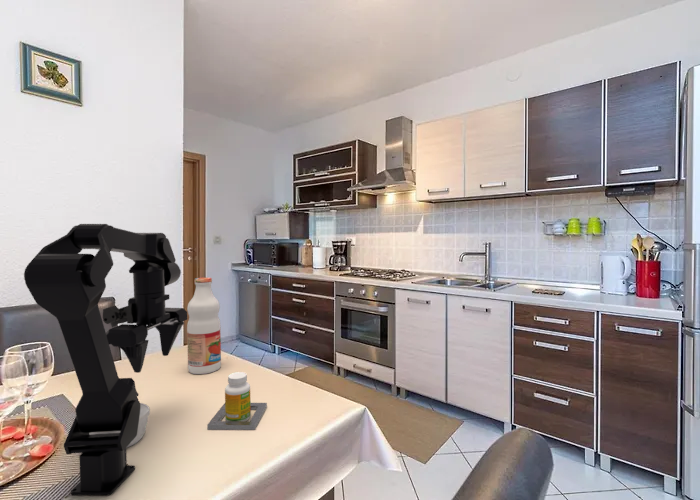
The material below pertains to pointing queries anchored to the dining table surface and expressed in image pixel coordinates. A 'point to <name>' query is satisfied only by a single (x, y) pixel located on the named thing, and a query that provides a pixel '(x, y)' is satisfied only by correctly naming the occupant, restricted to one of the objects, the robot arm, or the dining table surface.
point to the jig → (237, 425)
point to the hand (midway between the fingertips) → (152, 363)
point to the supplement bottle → (237, 398)
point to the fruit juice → (203, 330)
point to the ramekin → (141, 426)
